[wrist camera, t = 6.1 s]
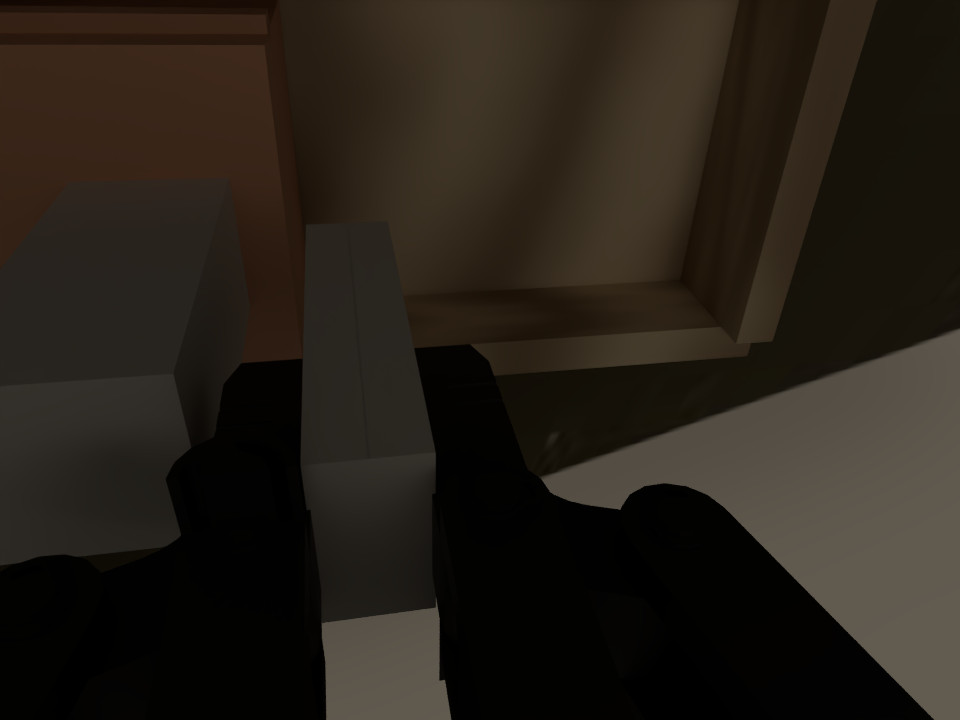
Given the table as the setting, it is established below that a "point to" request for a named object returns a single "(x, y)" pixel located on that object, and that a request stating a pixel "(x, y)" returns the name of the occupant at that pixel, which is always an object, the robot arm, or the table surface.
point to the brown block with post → (134, 253)
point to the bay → (575, 163)
